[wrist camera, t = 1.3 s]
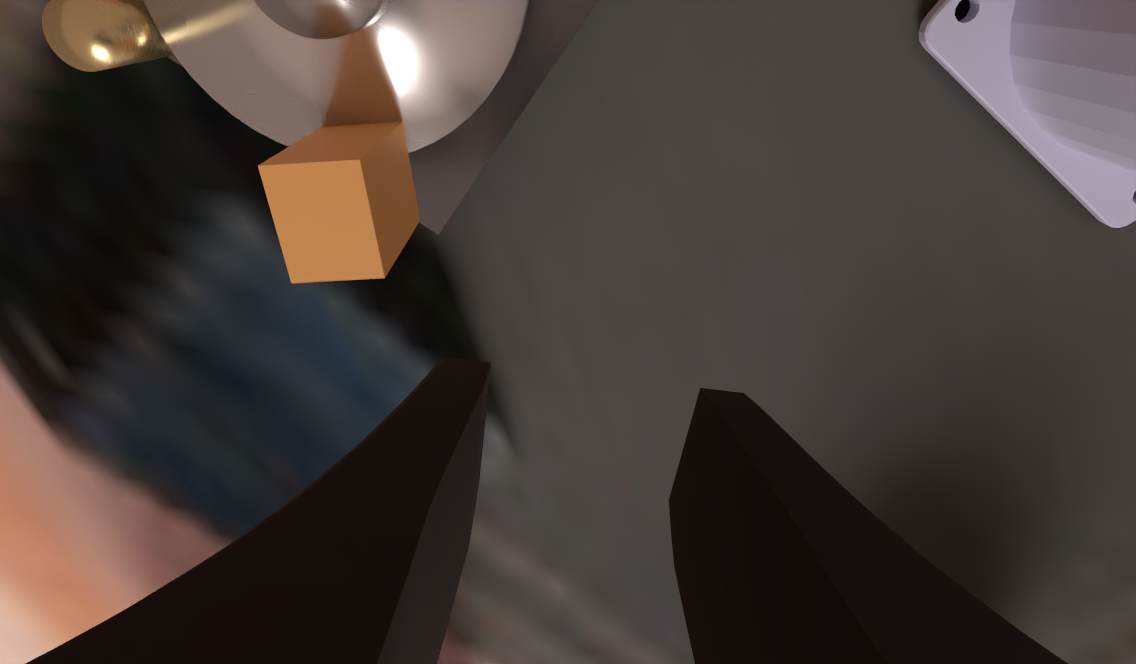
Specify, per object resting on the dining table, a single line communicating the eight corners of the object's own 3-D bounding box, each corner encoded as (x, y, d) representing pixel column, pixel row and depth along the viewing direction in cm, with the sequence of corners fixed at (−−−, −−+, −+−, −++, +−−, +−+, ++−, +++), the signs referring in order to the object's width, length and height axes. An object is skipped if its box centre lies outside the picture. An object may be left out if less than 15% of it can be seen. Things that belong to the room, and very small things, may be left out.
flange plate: (88, -268, 11) (-142, -384, 7) (512, -304, 11) (483, -442, 7) (238, 217, 15) (136, 292, 11) (550, 198, 15) (544, 269, 11)
